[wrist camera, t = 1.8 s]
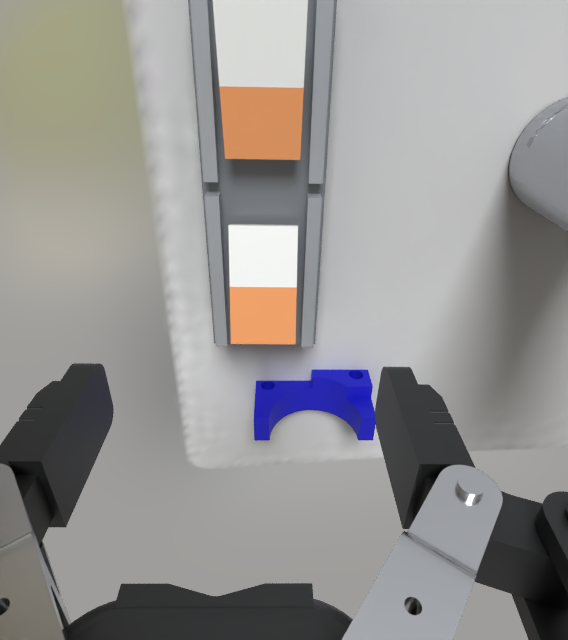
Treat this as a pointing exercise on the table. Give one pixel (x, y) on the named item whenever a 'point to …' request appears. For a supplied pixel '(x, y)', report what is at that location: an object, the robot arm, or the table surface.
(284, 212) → the box
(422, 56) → the table surface
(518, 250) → the table surface
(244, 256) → the block
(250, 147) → the rocker
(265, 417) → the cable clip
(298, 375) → the table surface
